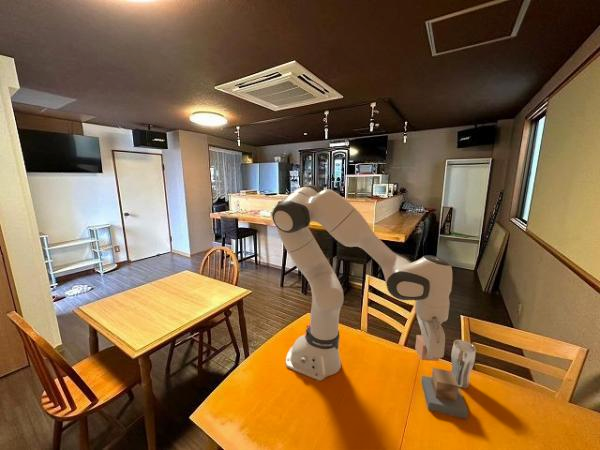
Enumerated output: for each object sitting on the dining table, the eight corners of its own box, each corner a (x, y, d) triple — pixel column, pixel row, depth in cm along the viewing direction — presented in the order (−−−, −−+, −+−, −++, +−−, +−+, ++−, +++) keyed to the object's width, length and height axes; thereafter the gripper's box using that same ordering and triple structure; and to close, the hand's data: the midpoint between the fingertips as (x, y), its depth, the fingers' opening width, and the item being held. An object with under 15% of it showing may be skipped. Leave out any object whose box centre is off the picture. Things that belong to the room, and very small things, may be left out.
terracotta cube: (421, 360, 73) (423, 345, 72) (415, 348, 78) (416, 334, 77) (438, 361, 72) (440, 346, 71) (431, 349, 77) (432, 335, 76)
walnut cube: (435, 397, 79) (437, 381, 78) (431, 382, 84) (433, 367, 83) (456, 401, 77) (458, 386, 76) (450, 386, 83) (452, 371, 82)
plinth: (428, 409, 78) (429, 402, 77) (421, 382, 88) (422, 375, 87) (467, 419, 74) (468, 411, 74) (455, 389, 85) (456, 382, 84)
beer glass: (474, 391, 84) (480, 354, 81) (452, 387, 86) (458, 351, 83) (465, 375, 91) (470, 340, 88) (445, 372, 92) (449, 338, 89)
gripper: (454, 331, 61) (447, 377, 64) (434, 294, 81) (430, 331, 83) (426, 327, 63) (421, 372, 66) (414, 292, 82) (410, 328, 85)
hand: (426, 349), depth 75 cm, fingers closed on terracotta cube, 5 cm apart
